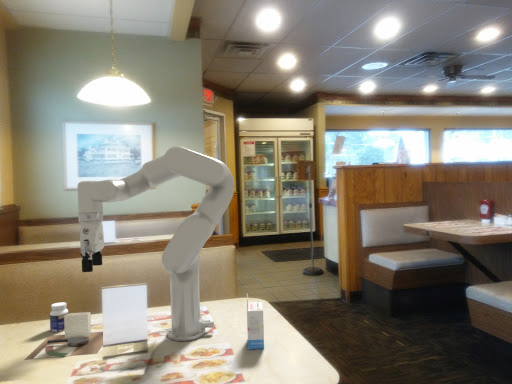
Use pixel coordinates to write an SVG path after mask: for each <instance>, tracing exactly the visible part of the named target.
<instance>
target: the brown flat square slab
mask: <svg viewBox="0 0 512 384" xmlns="http://www.w3.org/2000/svg"><path fill="white" fill-rule="evenodd" d="M57 339H65V334H55V335H54V334H53V335H49V336H48V337H47V338H46V339H44V340H43V342H41V343H40V344H39V345H38V346H37V347H36V348H35V349H34V350H33V351H32V352H30V354H28V355H27V356H26V357H25V358H24V359H23V360H24V361H26V360H28V361H29V360H38V359H51V358H65V357H72V356H86V355H97V354H98V353H99V351H100V350H101V349H102V347H103V345H104V344H103V331H93V332H92V331H91V335H90V336H89V342H88V343H86V344H84V345H81V346H77V347H70V346H68V342H59V343H47V341H48V340H57Z"/></svg>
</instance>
